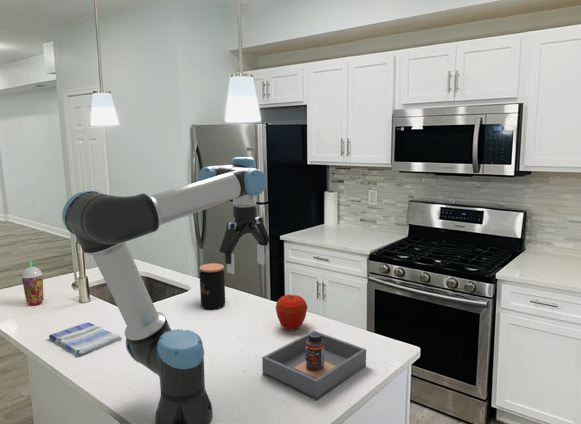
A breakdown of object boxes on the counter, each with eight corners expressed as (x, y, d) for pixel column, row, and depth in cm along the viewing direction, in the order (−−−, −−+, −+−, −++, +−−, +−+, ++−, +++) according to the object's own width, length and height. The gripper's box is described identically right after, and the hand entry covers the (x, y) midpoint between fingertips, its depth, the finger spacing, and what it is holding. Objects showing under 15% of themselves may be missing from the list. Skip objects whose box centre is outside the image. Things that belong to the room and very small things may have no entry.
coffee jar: (198, 303, 209) (196, 265, 206) (221, 299, 214) (220, 262, 211) (204, 312, 200) (202, 271, 197) (228, 307, 204) (227, 268, 201)
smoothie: (20, 306, 208) (15, 262, 204) (35, 299, 216) (30, 257, 212) (35, 308, 206) (30, 264, 202) (50, 301, 213) (45, 259, 210)
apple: (280, 336, 176) (279, 301, 173) (272, 324, 187) (272, 290, 185) (311, 332, 179) (311, 298, 176) (302, 320, 190) (302, 287, 188)
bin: (316, 400, 135) (316, 381, 134) (262, 374, 149) (262, 357, 148) (365, 366, 154) (366, 349, 153) (313, 346, 168) (313, 330, 167)
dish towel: (78, 359, 161) (77, 352, 160) (47, 340, 176) (46, 333, 175) (123, 341, 174) (123, 334, 174) (91, 325, 189) (90, 318, 188)
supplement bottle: (304, 370, 149) (303, 337, 147) (307, 361, 155) (307, 329, 153) (322, 372, 148) (322, 339, 146) (325, 363, 153) (325, 331, 151)
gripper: (222, 211, 139) (224, 279, 143) (279, 201, 158) (280, 262, 161) (206, 209, 144) (209, 274, 148) (264, 199, 163) (265, 258, 166)
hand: (246, 268), depth 155 cm, fingers open, 13 cm apart
